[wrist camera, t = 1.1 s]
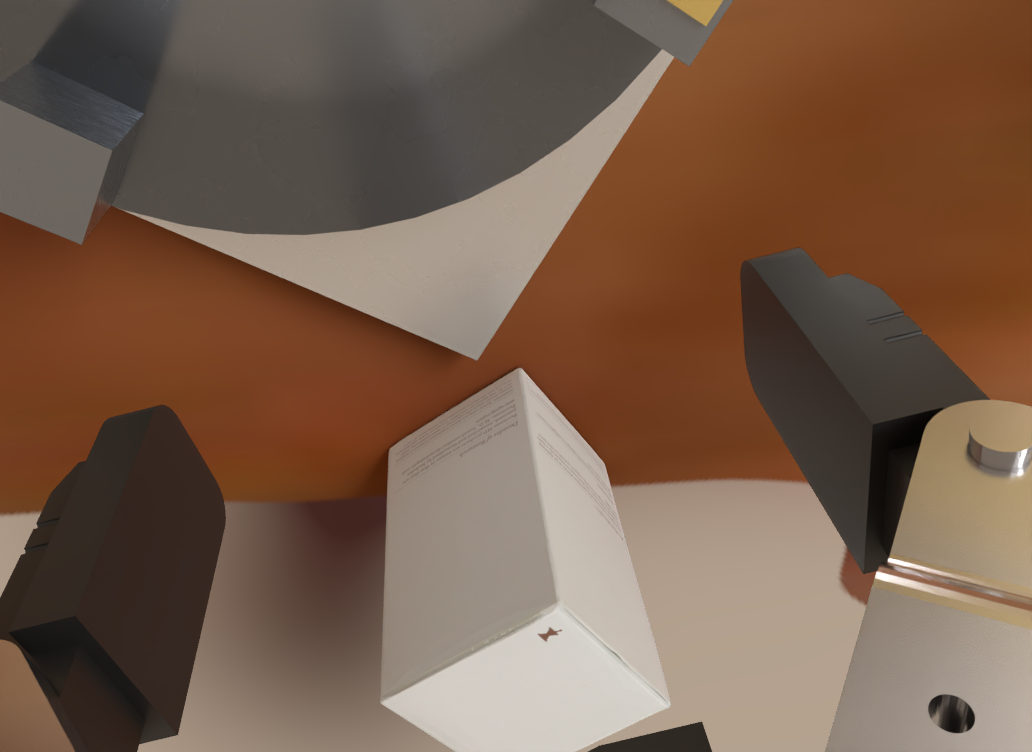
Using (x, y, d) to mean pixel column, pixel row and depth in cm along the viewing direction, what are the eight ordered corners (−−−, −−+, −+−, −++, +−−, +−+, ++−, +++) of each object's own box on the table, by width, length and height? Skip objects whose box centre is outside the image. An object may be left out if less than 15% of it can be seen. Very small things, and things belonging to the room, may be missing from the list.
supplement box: (383, 446, 36) (369, 703, 26) (521, 360, 34) (566, 601, 24) (479, 537, 40) (501, 792, 30) (609, 465, 38) (679, 711, 28)
